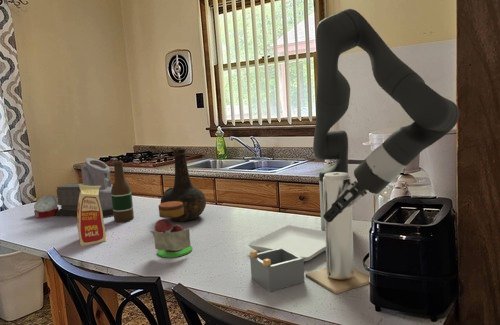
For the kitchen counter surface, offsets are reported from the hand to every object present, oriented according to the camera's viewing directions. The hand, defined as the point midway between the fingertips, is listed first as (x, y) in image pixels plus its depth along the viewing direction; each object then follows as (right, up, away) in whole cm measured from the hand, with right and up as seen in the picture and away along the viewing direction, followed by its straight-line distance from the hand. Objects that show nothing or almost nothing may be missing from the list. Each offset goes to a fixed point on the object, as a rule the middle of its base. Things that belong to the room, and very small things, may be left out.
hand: (331, 215), depth 102 cm
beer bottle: (-70, -11, +69) cm, 99 cm away
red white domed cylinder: (-109, -11, +85) cm, 139 cm away
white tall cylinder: (+2, -15, +1) cm, 15 cm away
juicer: (-89, -10, +84) cm, 123 cm away
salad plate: (-6, -13, +24) cm, 28 cm away
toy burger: (-43, -15, +28) cm, 54 cm away
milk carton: (-74, -14, +45) cm, 88 cm away
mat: (+2, -16, +1) cm, 16 cm away
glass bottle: (-45, -10, +66) cm, 80 cm away
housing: (-13, -16, +3) cm, 21 cm away
